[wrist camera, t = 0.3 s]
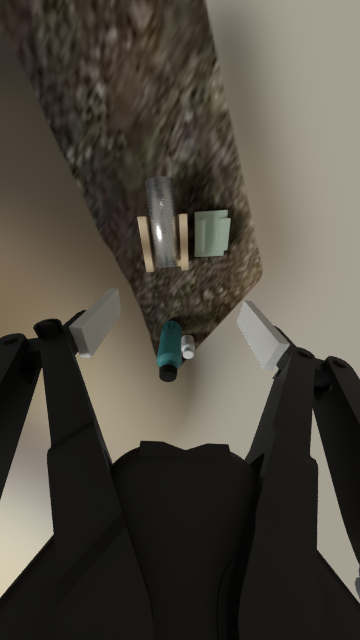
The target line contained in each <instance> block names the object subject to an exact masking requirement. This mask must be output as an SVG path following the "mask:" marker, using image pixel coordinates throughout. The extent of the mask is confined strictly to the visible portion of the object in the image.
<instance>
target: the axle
mask: <svg viewBox="0 0 360 640" xmlns="http://www.w3.org/2000/svg"><path fill="white" fill-rule="evenodd" d="M145 185H146V192H147V200H148V207H149V215H150V222H151V229H152V237H153V244H154V252H155V259H156V266H157V267H173V266H177V265H178V264H179V263H178V245H177V227H176V209H175V191H174V179H173V178H170V177H153V178H149V179H146V180H145Z"/></svg>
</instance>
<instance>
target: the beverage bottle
mask: <svg viewBox="0 0 360 640" xmlns="http://www.w3.org/2000/svg"><path fill="white" fill-rule="evenodd" d="M181 339H182V334H181V326H180V324H179V323H177V322H176V321H168V322H166V323H165V324H164V325H163V327H162V332H161V339H160V345H159V347H158V349H159V350H158V355H157V356H158V357H157V364H158V366H159V367H160V371H159V372H160V375H159V377H160V379H161V380H163V381H165V382H172V381H174V380H175V379H176V376H177V368H178V367H179V366H180V365H181V362H182V360H181V343H182V342H181Z"/></svg>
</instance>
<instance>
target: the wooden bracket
mask: <svg viewBox="0 0 360 640" xmlns="http://www.w3.org/2000/svg"><path fill="white" fill-rule="evenodd" d="M137 218H138V224H139V230H140V235H141V241H142V247H143V253H144V259H145V265H146V270H147V272H154V270H155V268H156V267H157V266H156V259H155V252H154V244H153V237H152V229H151V222H150V217H137ZM176 227H177V245H178V263H179V264H178V265H177V266H181V269H182V270H188V229H187V214H179V216H176Z"/></svg>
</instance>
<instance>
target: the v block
mask: <svg viewBox="0 0 360 640" xmlns="http://www.w3.org/2000/svg"><path fill="white" fill-rule="evenodd" d="M227 213H228V210H219V211H204V212H194V256H195V257H204V256H221V255H223V254H224V250H227V248H228V238H229V229H230V220H231V218H227Z"/></svg>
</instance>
